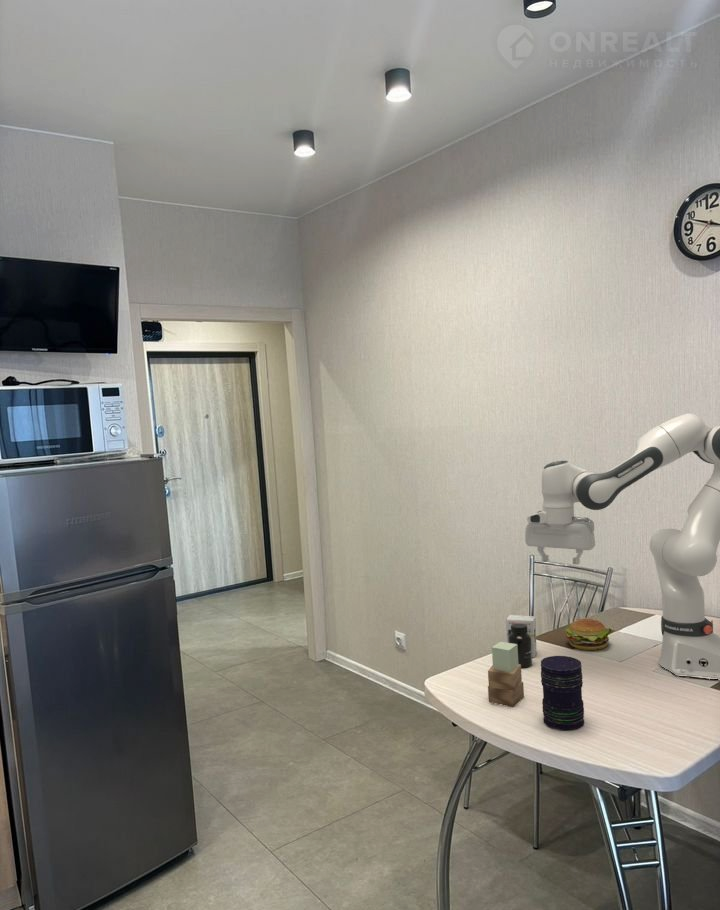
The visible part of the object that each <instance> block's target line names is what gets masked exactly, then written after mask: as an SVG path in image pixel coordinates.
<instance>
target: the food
mask: <svg viewBox="0 0 720 910" xmlns="http://www.w3.org/2000/svg"><path fill="white" fill-rule="evenodd" d="M564 630H565V638H566V639H568V641H569V645H570V646H571V647H573V648H576V649H579V650H584V651H597V649H598V650H602V649H604V648H606V647H608V642H609V640H610V638H609V636H608V635H610V634H611V633H612V629H611V628H606V625H604V624H603V623H602V622H601V621H599V620H597V619H593V618H579V619H577V620H574V621H572V622H571V624H570V625H569V626H567V628H565V629H564Z"/></svg>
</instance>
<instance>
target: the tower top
mask: <svg viewBox="0 0 720 910" xmlns="http://www.w3.org/2000/svg"><path fill="white" fill-rule="evenodd" d="M518 665H519V666H518V667H517V668H516V669H514V670H513V671H512V672H511V673H510V672H505V671H499V670H494V669H493V664H492V665H491V667H490V668H488V670H487V679H488V681H487V682H488V686H489V687H491V688H498V689H506V690H513V691H515V690H516V688H517V687H518V685H519V684H520V683H521V682H523V681H522V680H523V677H522V668H521V664H518Z"/></svg>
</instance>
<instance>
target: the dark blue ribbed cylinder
mask: <svg viewBox="0 0 720 910" xmlns="http://www.w3.org/2000/svg"><path fill="white" fill-rule="evenodd" d="M540 669H541V670H540V678H541V680H540V683H541V686H542V695H543V697H542V699H541V701H542V703H541V704H542V707H541V708H542V714H543V724H544V725H545V726H546V727H548V728H550V729H552V730H556V731H560V732H561V731H562V732H572V731H577V730H580V729H581V728H583V727H584V726H585V720H584V717H585V708H584V705H585V704H584V699H583V695H582V694H583V693H582V692H583V691H582V688H583V683H584V681H583V669H582V661H581V660H579V659H577V658H575V657H572V656H566V655H551V656H548V657H544V658H542V659H541V660H540Z"/></svg>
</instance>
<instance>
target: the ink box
mask: <svg viewBox="0 0 720 910" xmlns="http://www.w3.org/2000/svg"><path fill="white" fill-rule="evenodd" d="M536 620H537V618H536V616H532V615H518V614H509V615H508V616H507V617H506V621H505V622H506V643H508V636H509V635H510V634H511V633H512V632H511V625H512V624H518V623H519V624H525V625H527V630H528V632H527V633H528V634H529V635H530V637H531V648H532V658H535V657H536V655H537V654H538V653H537V623H536V622H537V621H536Z"/></svg>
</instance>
